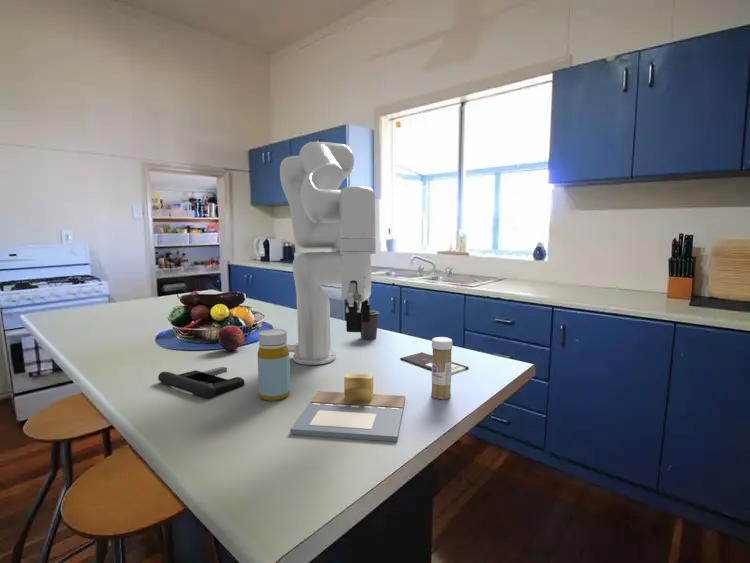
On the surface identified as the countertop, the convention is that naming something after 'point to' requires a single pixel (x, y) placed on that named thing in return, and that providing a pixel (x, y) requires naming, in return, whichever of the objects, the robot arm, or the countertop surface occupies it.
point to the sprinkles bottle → (441, 367)
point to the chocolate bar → (430, 362)
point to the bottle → (273, 365)
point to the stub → (359, 394)
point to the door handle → (193, 385)
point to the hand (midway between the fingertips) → (358, 326)
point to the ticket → (349, 422)
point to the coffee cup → (370, 326)
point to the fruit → (230, 337)
